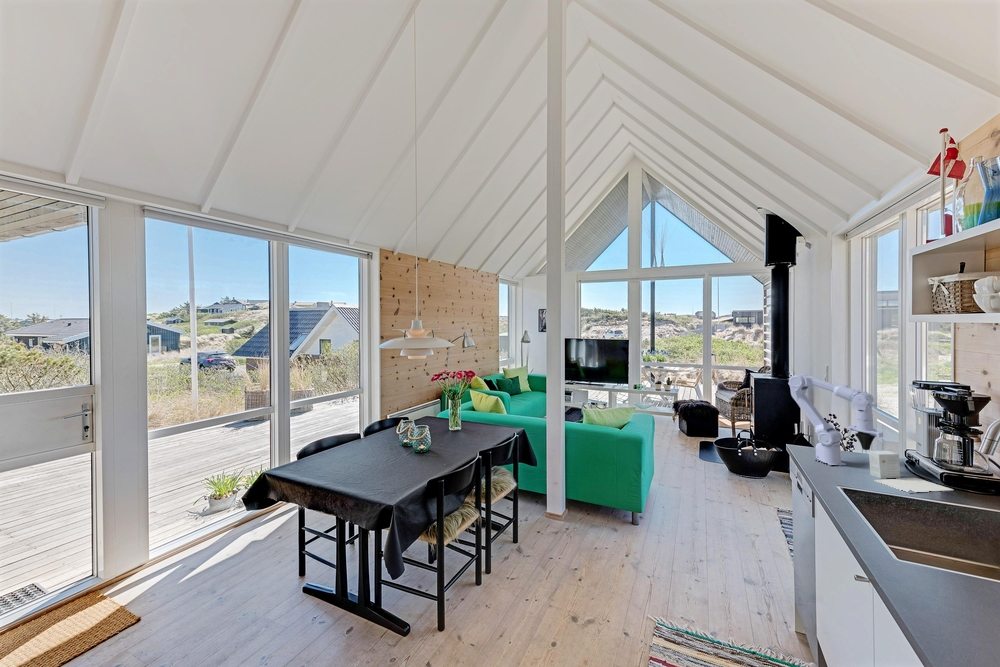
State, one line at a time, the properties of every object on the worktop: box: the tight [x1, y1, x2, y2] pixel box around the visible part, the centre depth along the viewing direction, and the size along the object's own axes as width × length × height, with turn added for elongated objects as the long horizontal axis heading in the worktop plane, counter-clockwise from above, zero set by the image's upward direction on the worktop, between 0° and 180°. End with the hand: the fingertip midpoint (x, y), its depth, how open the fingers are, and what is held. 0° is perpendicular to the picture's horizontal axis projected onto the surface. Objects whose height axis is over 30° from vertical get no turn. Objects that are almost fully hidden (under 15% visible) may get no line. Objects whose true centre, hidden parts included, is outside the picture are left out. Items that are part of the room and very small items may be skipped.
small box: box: [868, 449, 901, 480], centre depth 173 cm, size 8×6×10 cm
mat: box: [873, 477, 954, 493], centre depth 162 cm, size 14×18×1 cm
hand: (866, 449), depth 182 cm, fingers closed
